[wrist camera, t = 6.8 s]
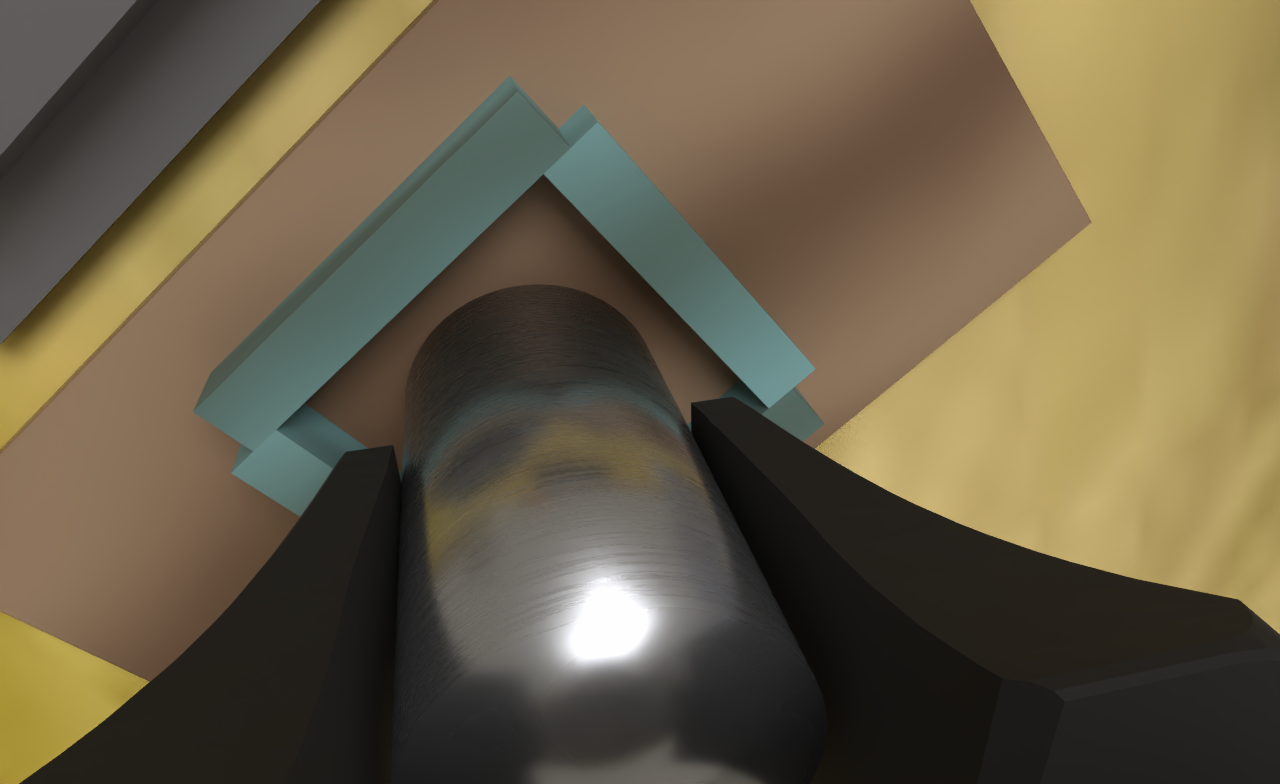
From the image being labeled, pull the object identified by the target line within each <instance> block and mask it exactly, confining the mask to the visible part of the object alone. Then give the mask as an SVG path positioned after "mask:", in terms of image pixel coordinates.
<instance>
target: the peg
mask: <svg viewBox="0 0 1280 784" xmlns="http://www.w3.org/2000/svg"><path fill="white" fill-rule="evenodd" d="M826 736H827V713H826V708H825V703H824V698H823V695H822V692H821V690H820V688H819V685H818V683H817V681H816V678H815V676H814V674H813V673H812V671H811V669H810V667H809V665H808V663H807V661H806V659H805V657H804V655H803V653H802V651H801V649H800V647H799V645H798V643H797V641H796V639H795V637H794V635H793V633H792V631H791V629H790V627H789V625H788V623H787V621H786V619H785V617H784V615H783V613H782V611H781V609H780V607H779V605H778V603H777V601H776V599H775V597H774V595H773V593H772V591H771V589H770V587H769V585H768V584H767V582H766V580H765V578H764V576H763V574H762V572H761V570H760V568H759V566H758V564H757V562H756V560H755V558H754V556H753V554H752V552H751V550H750V548H749V546H748V544H747V542H746V540H745V538H744V536H743V534H742V532H741V530H740V528H739V526H738V524H737V522H736V520H735V518H734V516H733V514H732V512H731V510H730V508H729V506H728V504H727V502H726V500H725V498H724V497H723V495H722V493H721V491H720V489H719V487H718V485H717V483H716V481H715V479H714V477H713V475H712V473H711V471H710V469H709V467H708V465H707V463H706V461H705V459H704V457H703V455H702V453H701V451H700V449H699V447H698V445H697V443H696V441H695V439H694V437H693V435H692V433H691V431H690V429H689V427H688V425H687V423H686V421H685V419H684V417H683V415H682V413H681V411H680V409H679V408H678V406H677V404H676V402H675V400H674V398H673V396H672V394H671V392H670V390H669V388H668V386H667V384H666V382H665V380H664V378H663V376H662V374H661V372H660V370H659V368H658V366H657V364H656V362H655V360H654V358H653V356H652V354H651V352H650V350H649V348H648V346H647V344H646V342H645V341H644V339H643V338H642V336H641V335H640V333H639V331H638V330H637V329H636V328H635V327H634V325H633V324H632V323H631V322H630V321H629V320H628V319H627V318H626V317H625V316H624V315H623V314H622V313H620V312H619V311H618V310H617V309H616V308H614V307H612V306H611V305H609V304H608V303H606V302H605V301H603V300H601V299H599V298H597V297H595V296H593V295H590V294H588V293H585V292H582V291H579V290H576V289H573V288H567V287H562V286H556V285H541V284H535V285H520V286H515V287H509V288H504V289H500V290H497V291H494V292H491V293H488V294H485V295H483V296H481V297H479V298H476V299H474V300H472V301H470V302H468V303H467V304H465V305H463V306H462V307H460V308H459V309H457V310H455V311H454V312H453V313H451V314H450V315H449V316H448V317H447V318H445V319H444V320H443V321H442V322H441V323H440V324H439V325H438V326H437V327H436V328H435V329H434V330H433V331H432V332H431V333H430V334H429V336H428V337H427V339H426V340H425V342H424V343H423V344H422V346H421V347H420V349H419V351H418V353H417V355H416V357H415V359H414V361H413V363H412V366H411V369H410V372H409V375H408V379H407V385H406V390H405V411H404V437H403V463H402V489H401V515H400V541H399V567H398V592H397V618H396V644H395V670H394V696H393V722H392V747H391V773H390V784H810V783H811V781H812V779H813V777H814V775H815V774H816V772H817V769H818V766H819V764H820V761H821V758H822V755H823V752H824V747H825V741H826Z"/></svg>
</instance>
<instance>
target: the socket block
mask: <svg viewBox="0 0 1280 784" xmlns="http://www.w3.org/2000/svg"><path fill="white" fill-rule="evenodd" d="M320 1H321V0H0V344H1V343H2V342H3V341H4V340H5V339H6V338H7V337H8V336H9V335H10V334H11V333H12V332H13V331H14V329H15V328H16V327H17V326H18V325H19V324H20V323H21V322H22V321H23V320H24V319H25V318H26V317H27V315H28V314H29V313H30V312H31V311H32V310H33V309H34V308H35V307H36V306H37V305H38V304H39V303H40V302H41V300H42V299H43V298H44V297H45V296H46V295H47V294H48V293H49V292H50V291H51V290H52V289H53V288H54V286H55V285H56V284H57V283H58V282H59V281H60V280H61V279H62V278H63V277H64V276H65V275H66V274H67V273H68V271H69V270H70V269H71V268H72V267H73V266H74V265H75V264H76V263H77V262H78V261H79V260H80V259H81V258H82V256H83V255H84V254H85V253H86V252H87V251H88V250H89V249H90V248H91V247H92V246H93V245H94V244H95V242H96V241H97V240H98V239H99V238H100V237H101V236H102V235H103V234H104V233H105V232H106V231H107V230H108V229H109V227H110V226H111V225H112V224H113V223H114V222H115V221H116V220H117V219H118V218H119V217H120V216H121V215H122V213H123V212H124V211H125V210H126V209H127V208H128V207H129V206H130V205H131V204H132V203H133V202H134V201H135V200H136V198H137V197H138V196H139V195H140V194H141V193H142V192H143V191H144V190H145V189H146V188H147V187H148V186H149V184H150V183H151V182H152V181H153V180H154V179H155V178H156V177H157V176H158V175H159V174H160V173H161V172H162V171H163V169H164V168H165V167H166V166H167V165H168V164H169V163H170V162H171V161H172V160H173V159H174V158H175V157H176V156H177V154H178V153H179V152H180V151H181V150H182V149H183V148H184V147H185V146H186V145H187V144H188V143H189V142H190V140H191V139H192V138H193V137H194V136H195V135H196V134H197V133H198V132H199V131H200V130H201V129H202V128H203V127H204V125H205V124H206V123H207V122H208V121H209V120H210V119H211V118H212V117H213V116H214V115H215V114H216V113H217V111H218V110H219V109H220V108H221V107H222V106H223V105H224V104H225V103H226V102H227V101H228V100H229V99H230V98H231V96H232V95H233V94H234V93H235V92H236V91H237V90H238V89H239V88H240V87H241V86H242V85H243V84H244V83H245V81H246V80H247V79H248V78H249V77H250V76H251V75H252V74H253V73H254V72H255V71H256V70H257V69H258V67H259V66H260V65H261V64H262V63H263V62H264V61H265V60H266V59H267V58H268V57H269V56H270V55H271V54H272V52H273V51H274V50H275V49H276V48H277V47H278V46H279V45H280V44H281V43H282V42H283V41H284V40H285V38H286V37H287V36H288V35H289V34H290V33H291V32H292V31H293V30H294V29H295V28H296V27H297V26H298V25H299V23H300V22H301V21H302V20H303V19H304V18H305V17H306V16H307V15H308V14H309V13H310V12H311V11H312V10H313V8H314V7H315V6H316V5H317V4H318V3H319V2H320Z"/></svg>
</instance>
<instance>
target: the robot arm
mask: <svg viewBox="0 0 1280 784" xmlns="http://www.w3.org/2000/svg"><path fill="white" fill-rule="evenodd" d="M691 433H692V435H693V437H694V439H695V441H696V443H697V445H698V447H699V449H700V451H701V453H702V455H703V457H704V459H705V461H706V463H707V465H708V467H709V469H710V471H711V473H712V475H713V477H714V479H715V481H716V483H717V485H718V487H719V489H720V491H721V493H722V495H723V497H724V498H725V500H726V502H727V504H728V506H729V508H730V510H731V512H732V514H733V516H734V518H735V520H736V522H737V524H738V526H739V528H740V530H741V532H742V534H743V536H744V538H745V540H746V542H747V544H748V546H749V548H750V550H751V552H752V554H753V556H754V558H755V560H756V562H757V564H758V566H759V568H760V570H761V572H762V574H763V576H764V578H765V580H766V582H767V584H768V585H769V587H770V589H771V591H772V593H773V595H774V597H775V599H776V601H777V603H778V605H779V607H780V609H781V611H782V613H783V615H784V617H785V619H786V621H787V623H788V625H789V627H790V629H791V631H792V633H793V635H794V637H795V639H796V641H797V643H798V645H799V647H800V649H801V651H802V653H803V655H804V657H805V659H806V661H807V663H808V665H809V667H810V669H811V671H812V673H813V674H814V676H815V678H816V681H817V683H818V685H819V688H820V690H821V692H822V695H823V698H824V703H825V708H826V713H827V736H826V741H825V747H824V752H823V755H822V758H821V761H820V764H819V766H818V769H817V772H816V774H815V775H814V777H813V779H812V781H811V783H810V784H1280V634H1278V633H1277V632H1276V631H1275V630H1274V629H1273V628H1271V627H1270V626H1269V625H1268V624H1267V623H1266V622H1264V621H1263V620H1262V619H1261V618H1260V617H1259V616H1257V615H1256V614H1255V613H1254V612H1253V611H1252V610H1250V609H1249V608H1248V607H1247V606H1246V605H1245V604H1243V603H1242V602H1241V601H1239V600H1238V599H1233V598H1228V597H1223V596H1218V595H1213V594H1208V593H1203V592H1198V591H1193V590H1188V589H1183V588H1178V587H1173V586H1168V585H1163V584H1158V583H1153V582H1148V581H1143V580H1138V579H1134V578H1130V577H1125V576H1122V575H1118V574H1114V573H1110V572H1106V571H1103V570H1099V569H1095V568H1091V567H1087V566H1084V565H1080V564H1076V563H1072V562H1069V561H1066V560H1062V559H1059V558H1056V557H1052V556H1049V555H1046V554H1042V553H1039V552H1036V551H1033V550H1030V549H1027V548H1024V547H1021V546H1018V545H1016V544H1013V543H1010V542H1007V541H1004V540H1001V539H998V538H996V537H993V536H990V535H987V534H984V533H982V532H979V531H976V530H974V529H971V528H969V527H966V526H964V525H961V524H959V523H956V522H954V521H952V520H949V519H947V518H945V517H943V516H940V515H938V514H936V513H933V512H931V511H929V510H927V509H924V508H922V507H920V506H918V505H915V504H913V503H911V502H909V501H907V500H905V499H903V498H901V497H899V496H897V495H895V494H893V493H891V492H889V491H887V490H885V489H883V488H881V487H880V486H878V485H876V484H874V483H872V482H870V481H868V480H867V479H865V478H863V477H861V476H859V475H857V474H855V473H854V472H852V471H850V470H849V469H847V468H845V467H843V466H842V465H840V464H838V463H837V462H835V461H833V460H832V459H830V458H828V457H827V456H825V455H823V454H822V453H820V452H819V451H817V450H815V449H814V448H812V447H811V446H809V445H807V444H806V443H804V442H803V441H801V440H800V439H798V438H796V437H795V436H793V435H792V434H790V433H789V432H787V431H786V430H784V429H783V428H781V427H780V426H778V425H777V424H775V423H774V422H772V421H771V420H769V419H768V418H766V417H765V416H763V415H761V414H760V413H758V412H757V411H755V410H754V409H752V408H751V407H749V406H748V405H746V404H744V403H743V402H741V401H740V400H738V399H736V398H734V397H727V398H720V399H713V400H706V401H699V402H692V403H691ZM401 489H402V484H401V479H400V474H399V470H398V465H397V460H396V455H395V451H394V446H393V445H389V446H382V447H375V448H368V449H361V450H354V451H347V452H345V453H344V455H343V456H342V457H341V458H340V459H339V461H338V462H337V464H336V465H335V467H334V468H333V470H332V471H331V473H330V474H329V476H328V477H327V479H326V480H325V482H324V483H323V485H322V486H321V488H320V489H319V491H318V492H317V494H316V495H315V497H314V498H313V499H312V501H311V502H310V504H309V505H308V507H307V508H306V510H305V511H304V512H303V514H302V515H301V517H300V518H299V519H298V521H297V522H296V523H295V525H294V526H293V527H292V529H291V530H290V532H289V533H288V534H287V536H286V537H285V538H284V540H283V541H282V542H281V544H280V545H279V546H278V548H277V549H276V550H275V552H274V553H273V554H272V556H271V557H270V558H269V559H268V561H267V562H266V563H265V564H264V565H263V567H262V568H261V569H260V570H259V571H258V573H257V574H256V575H255V576H254V577H253V579H252V580H251V581H250V582H249V583H248V585H247V586H246V587H245V588H244V589H243V591H242V592H241V593H240V594H239V595H238V596H237V598H236V599H235V600H234V601H233V602H232V603H231V605H230V606H229V607H228V608H227V609H226V610H225V611H224V612H223V613H222V614H221V615H220V617H219V618H218V619H217V620H216V621H215V622H214V623H213V624H212V625H211V626H210V627H209V628H208V629H207V630H206V631H205V632H204V633H203V634H202V635H201V636H200V637H199V638H198V639H197V640H196V641H195V642H193V643H192V644H191V645H190V646H189V647H188V648H187V649H186V650H185V651H184V652H183V653H182V654H181V655H180V656H179V657H178V658H177V659H176V660H175V661H174V662H173V663H171V664H170V665H169V666H168V667H167V668H166V669H165V670H163V671H162V672H161V673H160V674H159V675H157V676H156V677H155V678H154V679H153V680H152V681H150V682H149V683H148V684H147V685H146V686H145V687H143V688H142V689H141V690H140V691H139V692H138V693H136V694H135V695H134V696H133V697H132V698H130V699H129V700H128V701H127V702H126V703H125V704H123V705H122V706H121V707H120V708H119V709H118V710H116V711H115V712H114V713H113V714H112V715H111V716H109V717H108V718H107V719H106V720H104V721H103V722H102V723H101V724H99V725H98V726H97V727H96V728H94V729H93V730H92V731H90V732H89V733H88V734H86V735H85V736H84V737H82V738H81V739H80V740H78V741H77V742H76V743H75V744H73V745H72V746H71V747H69V748H68V749H67V750H65V751H64V752H63V753H61V754H60V755H59V756H57V757H56V758H54V759H53V760H52V761H50V762H49V763H47V764H46V765H45V766H43V767H42V768H40V769H39V770H38V771H36V772H35V773H33V774H32V775H31V776H29V777H28V778H26V779H25V780H24V781H22V782H21V783H20V784H390V773H391V747H392V722H393V696H394V670H395V644H396V618H397V592H398V567H399V541H400V515H401Z"/></svg>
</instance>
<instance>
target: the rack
mask: <svg viewBox="0 0 1280 784" xmlns="http://www.w3.org/2000/svg"><path fill="white" fill-rule="evenodd" d="M1090 223H1091V220H1090V219H1089V217H1088V215H1087V213H1086V211H1085V210H1084V208H1083V206H1082V204H1081V202H1080V200H1079V199H1078V197H1077V195H1076V193H1075V191H1074V190H1073V188H1072V186H1071V184H1070V182H1069V180H1068V179H1067V177H1066V175H1065V173H1064V171H1063V169H1062V168H1061V166H1060V164H1059V162H1058V160H1057V159H1056V157H1055V155H1054V153H1053V151H1052V149H1051V148H1050V146H1049V144H1048V142H1047V140H1046V139H1045V137H1044V135H1043V133H1042V131H1041V129H1040V128H1039V126H1038V124H1037V122H1036V120H1035V118H1034V117H1033V115H1032V113H1031V111H1030V109H1029V108H1028V106H1027V104H1026V102H1025V100H1024V98H1023V97H1022V95H1021V93H1020V91H1019V89H1018V88H1017V86H1016V84H1015V82H1014V80H1013V78H1012V77H1011V75H1010V73H1009V71H1008V69H1007V68H1006V66H1005V64H1004V62H1003V60H1002V58H1001V57H1000V55H999V53H998V51H997V49H996V47H995V46H994V44H993V42H992V40H991V38H990V37H989V35H988V33H987V31H986V29H985V27H984V26H983V24H982V22H981V20H980V18H979V17H978V15H977V13H976V11H975V9H974V7H973V6H972V4H971V2H970V0H433V1H432V2H431V3H430V4H429V5H428V6H427V7H426V8H425V9H424V10H423V11H422V13H421V14H420V15H419V16H418V17H417V18H416V19H415V20H414V21H413V22H412V23H411V24H410V25H409V26H408V27H407V28H406V29H405V30H404V31H403V32H402V33H401V34H400V35H399V36H398V37H397V38H396V40H395V41H394V42H393V43H392V44H391V45H390V46H389V47H388V48H387V49H386V50H385V51H384V52H383V53H382V54H381V55H380V56H379V57H378V58H377V59H376V60H375V61H374V62H373V63H372V64H371V65H370V67H369V68H368V69H367V70H366V71H365V72H364V73H363V74H362V75H361V76H360V77H359V78H358V79H357V80H356V81H355V82H354V83H353V84H352V85H351V86H350V87H349V88H348V89H347V90H346V91H345V92H344V94H343V95H342V96H341V97H340V98H339V99H338V100H337V101H336V102H335V103H334V104H333V105H332V106H331V107H330V108H329V109H328V110H327V111H326V112H325V113H324V114H323V115H322V116H321V117H320V118H319V119H318V121H317V122H316V123H315V124H314V125H313V126H312V127H311V128H310V129H309V130H308V131H307V132H306V133H305V134H304V135H303V136H302V137H301V138H300V139H299V140H298V141H297V142H296V143H295V144H294V145H293V146H292V148H291V149H290V150H289V151H288V152H287V153H286V154H285V155H284V156H283V157H282V158H281V159H280V160H279V161H278V162H277V163H276V164H275V165H274V166H273V167H272V168H271V169H270V170H269V171H268V172H267V173H266V175H265V176H264V177H263V178H262V179H261V180H260V181H259V182H258V183H257V184H256V185H255V186H254V187H253V188H252V189H251V190H250V191H249V192H248V193H247V194H246V195H245V196H244V197H243V198H242V199H241V200H240V202H239V203H238V204H237V205H236V206H235V207H234V208H233V209H232V210H231V211H230V212H229V213H228V214H227V215H226V216H225V217H224V218H223V219H222V220H221V221H220V222H219V223H218V224H217V225H216V226H215V227H214V229H213V230H212V231H211V232H210V233H209V234H208V235H207V236H206V237H205V238H204V239H203V240H202V241H201V242H200V243H199V244H198V245H197V246H196V247H195V248H194V249H193V250H192V251H191V252H190V253H189V254H188V255H187V257H186V258H185V259H184V260H183V261H182V262H181V263H180V264H179V265H178V266H177V267H176V268H175V269H174V270H173V271H172V272H171V273H170V274H169V275H168V276H167V277H166V278H165V279H164V280H163V281H162V282H161V284H160V285H159V286H158V287H157V288H156V289H155V290H154V291H153V292H152V293H151V294H150V295H149V296H148V297H147V298H146V299H145V300H144V301H143V302H142V303H141V304H140V305H139V306H138V307H137V308H136V309H135V311H134V312H133V313H132V314H131V315H130V316H129V317H128V318H127V319H126V320H125V321H124V322H123V323H122V324H121V325H120V326H119V327H118V328H117V329H116V330H115V331H114V332H113V333H112V334H111V335H110V336H109V338H108V339H107V340H106V341H105V342H104V343H103V344H102V345H101V346H100V347H99V348H98V349H97V350H96V351H95V352H94V353H93V354H92V355H91V356H90V357H89V358H88V359H87V360H86V361H85V362H84V363H83V365H82V366H81V367H80V368H79V369H78V370H77V371H76V372H75V373H74V374H73V375H72V376H71V377H70V378H69V379H68V380H67V381H66V382H65V383H64V384H63V385H62V386H61V387H60V388H59V389H58V390H57V392H56V393H55V394H54V395H53V396H52V397H51V398H50V399H49V400H48V401H47V402H46V403H45V404H44V405H43V406H42V407H41V408H40V409H39V410H38V411H37V412H36V413H35V414H34V415H33V416H32V417H31V419H30V420H29V421H28V422H27V423H26V424H25V425H24V426H23V427H22V428H21V429H20V430H19V431H18V432H17V433H16V434H15V435H14V436H13V437H12V438H11V439H10V440H9V441H8V442H7V443H6V444H5V446H4V447H3V448H2V449H1V450H0V611H1V612H3V613H5V614H7V615H9V616H11V617H14V618H16V619H18V620H20V621H22V622H24V623H26V624H29V625H31V626H33V627H35V628H37V629H39V630H41V631H43V632H46V633H48V634H50V635H52V636H54V637H56V638H58V639H60V640H63V641H65V642H67V643H69V644H71V645H73V646H75V647H77V648H80V649H82V650H84V651H86V652H88V653H90V654H92V655H94V656H97V657H99V658H101V659H103V660H105V661H107V662H109V663H111V664H114V665H116V666H118V667H120V668H122V669H124V670H126V671H128V672H131V673H133V674H135V675H137V676H139V677H141V678H143V679H145V680H148V681H152V680H153V679H154V678H155V677H156V676H157V675H159V674H160V673H161V672H162V671H163V670H165V669H166V668H167V667H168V666H169V665H170V664H171V663H173V662H174V661H175V660H176V659H177V658H178V657H179V656H180V655H181V654H182V653H183V652H184V651H185V650H186V649H187V648H188V647H189V646H190V645H191V644H192V643H193V642H195V641H196V640H197V639H198V638H199V637H200V636H201V635H202V634H203V633H204V632H205V631H206V630H207V629H208V628H209V627H210V626H211V625H212V624H213V623H214V622H215V621H216V620H217V619H218V618H219V617H220V615H221V614H222V613H223V612H224V611H225V610H226V609H227V608H228V607H229V606H230V605H231V603H232V602H233V601H234V600H235V599H236V598H237V596H238V595H239V594H240V593H241V592H242V591H243V589H244V588H245V587H246V586H247V585H248V583H249V582H250V581H251V580H252V579H253V577H254V576H255V575H256V574H257V573H258V571H259V570H260V569H261V568H262V567H263V565H264V564H265V563H266V562H267V561H268V559H269V558H270V557H271V556H272V554H273V553H274V552H275V550H276V549H277V548H278V546H279V545H280V544H281V542H282V541H283V540H284V538H285V537H286V536H287V534H288V533H289V532H290V530H291V529H292V527H293V526H294V525H295V523H296V522H297V521H298V519H299V518H300V517H301V515H302V514H303V512H304V511H305V510H306V508H307V507H308V505H309V504H310V502H311V501H312V499H313V498H314V497H315V495H316V494H317V492H318V491H319V489H320V488H321V486H322V485H323V483H324V482H325V480H326V479H327V477H328V476H329V474H330V473H331V471H332V470H333V468H334V467H335V465H336V464H337V462H338V461H339V459H340V458H341V457H342V456H343V455H344V453H345V452H347V451H354V450H361V449H368V448H375V447H382V446H389V445H393V446H394V451H395V455H396V460H397V465H398V470H399V474H400V479H401V484H402V463H403V437H404V411H405V390H406V385H407V379H408V375H409V372H410V369H411V366H412V363H413V361H414V359H415V357H416V355H417V353H418V351H419V349H420V347H421V346H422V344H423V343H424V342H425V340H426V339H427V337H428V336H429V334H430V333H431V332H432V331H433V330H434V329H435V328H436V327H437V326H438V325H439V324H440V323H441V322H442V321H443V320H444V319H445V318H447V317H448V316H449V315H450V314H451V313H453V312H454V311H455V310H457V309H459V308H460V307H462V306H463V305H465V304H467V303H468V302H470V301H472V300H474V299H476V298H479V297H481V296H483V295H485V294H488V293H491V292H494V291H497V290H500V289H504V288H509V287H515V286H520V285H535V284H541V285H556V286H562V287H567V288H573V289H576V290H579V291H582V292H585V293H588V294H590V295H593V296H595V297H597V298H599V299H601V300H603V301H605V302H606V303H608V304H609V305H611V306H612V307H614V308H616V309H617V310H618V311H619V312H620V313H622V314H623V315H624V316H625V317H626V318H627V319H628V320H629V321H630V322H631V323H632V324H633V325H634V327H635V328H636V329H637V330H638V331H639V333H640V335H641V336H642V338H643V339H644V341H645V342H646V344H647V346H648V348H649V350H650V352H651V354H652V356H653V358H654V360H655V362H656V364H657V366H658V368H659V370H660V372H661V374H662V376H663V378H664V380H665V382H666V384H667V386H668V388H669V390H670V392H671V394H672V396H673V398H674V400H675V402H676V404H677V406H678V408H679V409H680V411H681V413H682V415H683V417H684V419H685V421H686V423H687V425H688V427H689V429H690V431H691V403H692V402H699V401H706V400H713V399H720V398H727V397H734V398H736V399H738V400H740V401H741V402H743V403H744V404H746V405H748V406H749V407H751V408H752V409H754V410H755V411H757V412H758V413H760V414H761V415H763V416H765V417H766V418H768V419H769V420H771V421H772V422H774V423H775V424H777V425H778V426H780V427H781V428H783V429H784V430H786V431H787V432H789V433H790V434H792V435H793V436H795V437H796V438H798V439H800V440H801V441H803V442H804V443H806V444H807V445H809V446H811V447H812V448H814V449H815V448H816V447H817V446H818V445H820V444H821V443H822V442H823V441H824V440H826V439H827V438H828V437H829V436H831V435H832V434H833V433H834V432H835V431H837V430H838V429H839V428H840V427H842V426H843V425H844V424H845V423H846V422H848V421H849V420H850V419H851V418H853V417H854V416H855V415H856V414H858V413H859V412H860V411H861V410H862V409H864V408H865V407H866V406H867V405H869V404H870V403H871V402H872V401H873V400H875V399H876V398H877V397H878V396H880V395H881V394H882V393H883V392H884V391H886V390H887V389H888V388H889V387H891V386H892V385H893V384H894V383H895V382H897V381H898V380H899V379H900V378H902V377H903V376H904V375H905V374H907V373H908V372H909V371H910V370H911V369H913V368H914V367H915V366H916V365H918V364H919V363H920V362H921V361H922V360H924V359H925V358H926V357H927V356H929V355H930V354H931V353H932V352H933V351H935V350H936V349H937V348H938V347H940V346H941V345H942V344H943V343H944V342H946V341H947V340H948V339H949V338H951V337H952V336H953V335H954V334H955V333H957V332H958V331H959V330H960V329H962V328H963V327H964V326H965V325H967V324H968V323H969V322H970V321H971V320H973V319H974V318H975V317H976V316H978V315H979V314H980V313H981V312H982V311H984V310H985V309H986V308H987V307H989V306H990V305H991V304H992V303H993V302H995V301H996V300H997V299H998V298H1000V297H1001V296H1002V295H1003V294H1004V293H1006V292H1007V291H1008V290H1009V289H1011V288H1012V287H1013V286H1014V285H1015V284H1017V283H1018V282H1019V281H1020V280H1022V279H1023V278H1024V277H1025V276H1027V275H1028V274H1029V273H1030V272H1031V271H1033V270H1034V269H1035V268H1036V267H1038V266H1039V265H1040V264H1041V263H1042V262H1044V261H1045V260H1046V259H1047V258H1049V257H1050V256H1051V255H1052V254H1053V253H1055V252H1056V251H1057V250H1058V249H1060V248H1061V247H1062V246H1063V245H1064V244H1066V243H1067V242H1068V241H1069V240H1071V239H1072V238H1073V237H1074V236H1076V235H1077V234H1078V233H1079V232H1080V231H1082V230H1083V229H1084V228H1085V227H1087V226H1088V225H1089V224H1090Z"/></svg>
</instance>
